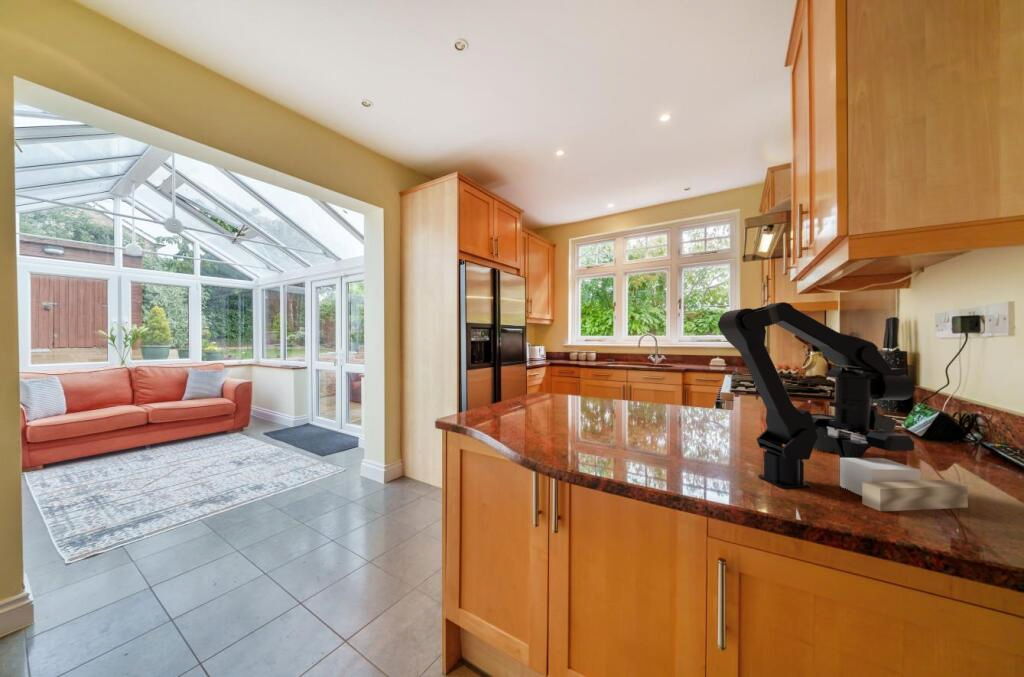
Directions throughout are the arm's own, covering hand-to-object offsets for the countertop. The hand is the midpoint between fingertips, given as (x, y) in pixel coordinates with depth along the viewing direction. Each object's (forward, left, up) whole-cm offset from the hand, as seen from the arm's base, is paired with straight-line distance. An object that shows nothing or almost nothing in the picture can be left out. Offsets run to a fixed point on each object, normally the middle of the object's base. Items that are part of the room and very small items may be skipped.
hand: (850, 470), depth 78 cm
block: (0, -6, -3) cm, 6 cm away
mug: (+19, +21, -3) cm, 29 cm away
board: (0, -11, -3) cm, 11 cm away
